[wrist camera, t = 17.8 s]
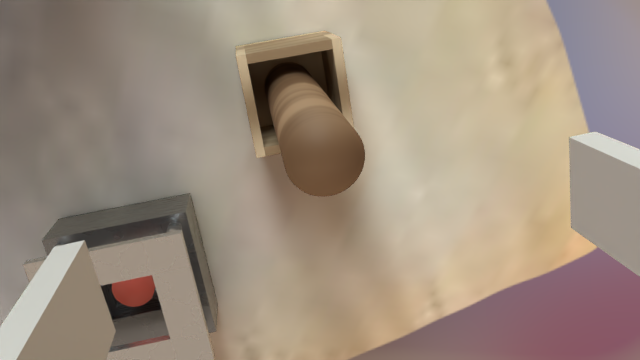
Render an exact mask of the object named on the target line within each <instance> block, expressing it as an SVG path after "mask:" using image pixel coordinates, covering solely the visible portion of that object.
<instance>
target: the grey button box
mask: <svg viewBox="0 0 640 360" xmlns="http://www.w3.org/2000/svg"><path fill="white" fill-rule="evenodd" d="M83 240H85V243H86V246H87V248H88V251H89V254H90V257H91V260H92V263H93V266H94V269H95V272H96V275H97V278H98V281H99V283H100V286H101V289H102V292H103V295H104V298H105V301H106V304H107V307H108V310H109V313H110V315H111V318H112V321H113V324H114V327H115V330H116V332H115V335H114V338H113V341H112V344H111V347H110V350H109V353H108V356H107V359H106V360H215V355H214V351H213V347H212V344H211V340H210V336H209V333H211V332H216V326H217V308H218V304H217V300H216V296H215V292H214V288H213V284H212V280H211V276H210V272H209V268H208V264H207V260H206V256H205V252H204V248H203V244H202V240H201V236H200V232H199V228H198V224H197V220H196V216H195V212H194V208H193V204H192V200H191V196H190V193H189V194H184V195H179V196H174V197H169V198H163V199H158V200H153V201H148V202H143V203H138V204H133V205H128V206H122V207H117V208H112V209H107V210H102V211H97V212H92V213H87V214H81V215H76V216H71V217H66V218H61V219H58V220H57V222H56V223H55V224H54V226H53V227H52V228H51V229H50V231H49V232H48V233H47V235H46V236H45V237H44V238H43V240H42V242H43V245H44V247H45V250H46V253H47V257H48V255H49V254H50V252H51V251H52V249H53V248H54V247H55V246H60V245H64V244H69V243H74V242H79V241H83ZM47 257H42V258H37V259H32V260H27V261H26V262H25V263H24V264H23V266H24V269H25V272H26V274H27V277H28V280H29V282H31V280H32V279H33V277H34V276H35V274H36V273H37V271H38V270H39V268H40V267H41V265H42V264H43V262H44V261H45V260H46V258H47ZM150 275H152V277H153V280H154V284H155V291H154V294H153V296H152V298H151V299H150V300H149V301H148V302H147V303H145V304H144V305H141V306H136V307H131V306H126V305H124V304H122V303H120V302H119V301H118V300H116V298H115V297H114V295H113V293H112V283H116V282H121V281H126V280H131V279H135V278H140V277H145V276H150Z"/></svg>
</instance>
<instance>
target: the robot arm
mask: <svg viewBox="0 0 640 360" xmlns="http://www.w3.org/2000/svg"><path fill="white" fill-rule="evenodd" d="M569 155H570V202H571V228H572V229H573V230H575V231H576V232H578V233H579V234H580V235H582V236H583V237H585V238H586V239H588V240H589V241H590V242H592V243H593V244H595V245H596V246H597V247H599V248H600V249H602V250H603V251H604V252H606V253H607V254H609V255H610V256H612V257H613V258H614V259H616V260H617V261H618V262H620V263H621V264H623V265H624V266H626V267H627V268H628V269H630V270H631V271H633V272H634V273H636V274H637V275H638V276H640V149H637V148H635V147H633V146H630V145H628V144H625V143H622V142H620V141H617V140H615V139H612V138H610V137H607V136H605V135H602V134H600V133H597V132H591V133H587V134H582V135H577V136H573V137H569ZM115 332H116V330H115V327H114V324H113V321H112V318H111V315H110V313H109V310H108V307H107V304H106V301H105V298H104V295H103V292H102V289H101V286H100V283H99V281H98V278H97V275H96V272H95V269H94V266H93V263H92V260H91V257H90V254H89V251H88V248H87V246H86V243H85V240H83V241H79V242H74V243H69V244H64V245H60V246H55V247H54V248H53V249H52V251H51V252H50V254H49V255H48V257H47V258H46V260H45V261H44V262H43V264H42V265H41V267H40V268H39V270H38V271H37V273H36V274H35V276H34V277H33V279H32V280H31V282H30V283H29V285H28V286H27V288H26V289H25V291H24V292H23V294H22V295H21V296H20V298H19V299H18V301H17V302H16V304H15V305H14V307H13V308H12V310H11V311H10V313H9V314H8V316H7V317H6V319H5V320H4V322H3V323H2V325H1V326H0V360H106V359H107V356H108V353H109V350H110V347H111V344H112V341H113V338H114V335H115Z"/></svg>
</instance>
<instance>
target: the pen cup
mask: <svg viewBox="0 0 640 360" xmlns="http://www.w3.org/2000/svg"><path fill="white" fill-rule="evenodd" d="M236 60H237V64H238V69H239V74H240V79H241V84H242V89H243V94H244V99H245V104H246V109H247V114H248V118H249V123H250V128H251V133H252V138H253V143H254V148H255V153H256V158H260V157H265V156H270V155H275V154H280V153H281V150H280V147H279V143H278V139H277V135H276V132H275V128H274V124H273V120H272V117H271V113H270V109H269V105H268V102H267V98H266V94H265V89H264V84H265V79H266V77H267V75H268V73H269V72H270V70H271V69H272V68H274V67H275V66H277V65H278V64H281V63H284V62H293V63H297V64H299V65H301V66H303V67H304V68H305V69H306V70H307V71H308V72H309V73H310V74H311V76H312V77H313V78H314V79H315V81H316V82H317V83H318V84H319V86H320V87H321V88H322V89H323V91H324V92H325V93H326V94H327V96H328V97H329V98H330V99H331V101H332V102H333V103H334V104H335V106H336V107H337V108H338V109H339V111H340V112H341V113H342V114H343V116H344V117H345V118H346V119H347V121H348V122H349V123H350V124H351V126H352V127H353V128H354V125H353V118H352V111H351V104H350V97H349V90H348V83H347V76H346V69H345V62H344V55H343V48H342V41H341V37H339V36H336V35H334V34H332V33H329V32H327V31H320V32H314V33H309V34H303V35H297V36H291V37H286V38H280V39H274V40H269V41H263V42H257V43H252V44H246V45H240V46H236Z"/></svg>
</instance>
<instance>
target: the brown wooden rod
mask: <svg viewBox="0 0 640 360" xmlns="http://www.w3.org/2000/svg"><path fill="white" fill-rule="evenodd" d="M264 89H265V94H266V98H267V102H268V105H269V109H270V113H271V117H272V120H273V124H274V128H275V132H276V135H277V139H278V143H279V147H280V150H281V154H282V158H283V162H284V165H285V169H286V172H287V175H288V177H289V178H290V180H291V181H292V183H293V184H294V185H295V186H296V187H297V188H299V189H300V190H302V191H303V192H305V193H308V194H310V195H314V196H331V195H335V194H338V193H340V192H342V191H344V190H346V189H347V188H349V187H350V186H351V185H352V184H353V183H354V182H355V181H356V180H357V178H358V177H359V175H360V173H361V171H362V169H363V166H364V161H365V150H364V145H363V143H362V140H361V138H360V136H359V135H358V133H357V132H356V131H355V130H354V128H353V127H352V126H351V124H350V123H349V122H348V121H347V119H346V118H345V117H344V116H343V114H342V113H341V112H340V111H339V109H338V108H337V107H336V106H335V104H334V103H333V102H332V101H331V99H330V98H329V97H328V96H327V94H326V93H325V92H324V91H323V89H322V88H321V87H320V86H319V84H318V83H317V82H316V81H315V79H314V78H313V77H312V76H311V74H310V73H309V72H308V71H307V70H306V69H305V68H304V67H303V66H301V65H299V64H297V63H293V62H284V63H281V64H278V65H277V66H275V67H274V68H272V69H271V70H270V72H269V73H268V75H267V77H266V79H265V84H264Z"/></svg>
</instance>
